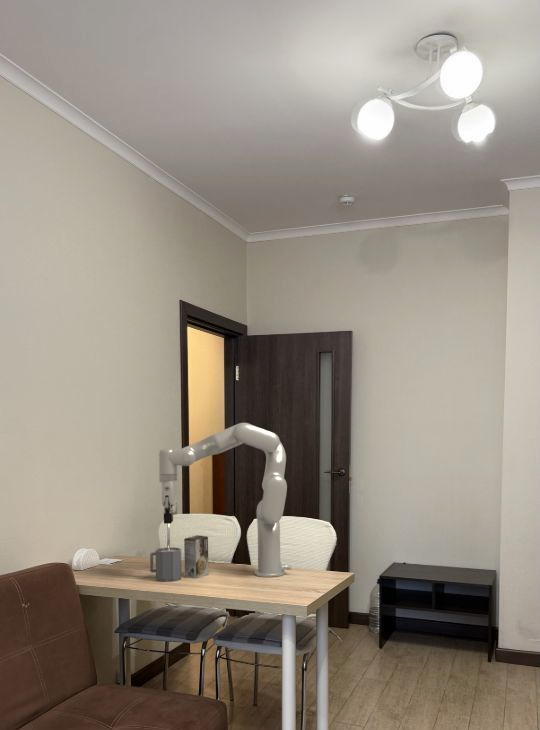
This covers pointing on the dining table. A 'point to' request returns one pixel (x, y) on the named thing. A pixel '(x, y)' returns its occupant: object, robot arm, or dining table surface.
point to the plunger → (168, 538)
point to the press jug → (167, 565)
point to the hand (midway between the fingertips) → (168, 522)
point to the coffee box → (196, 556)
